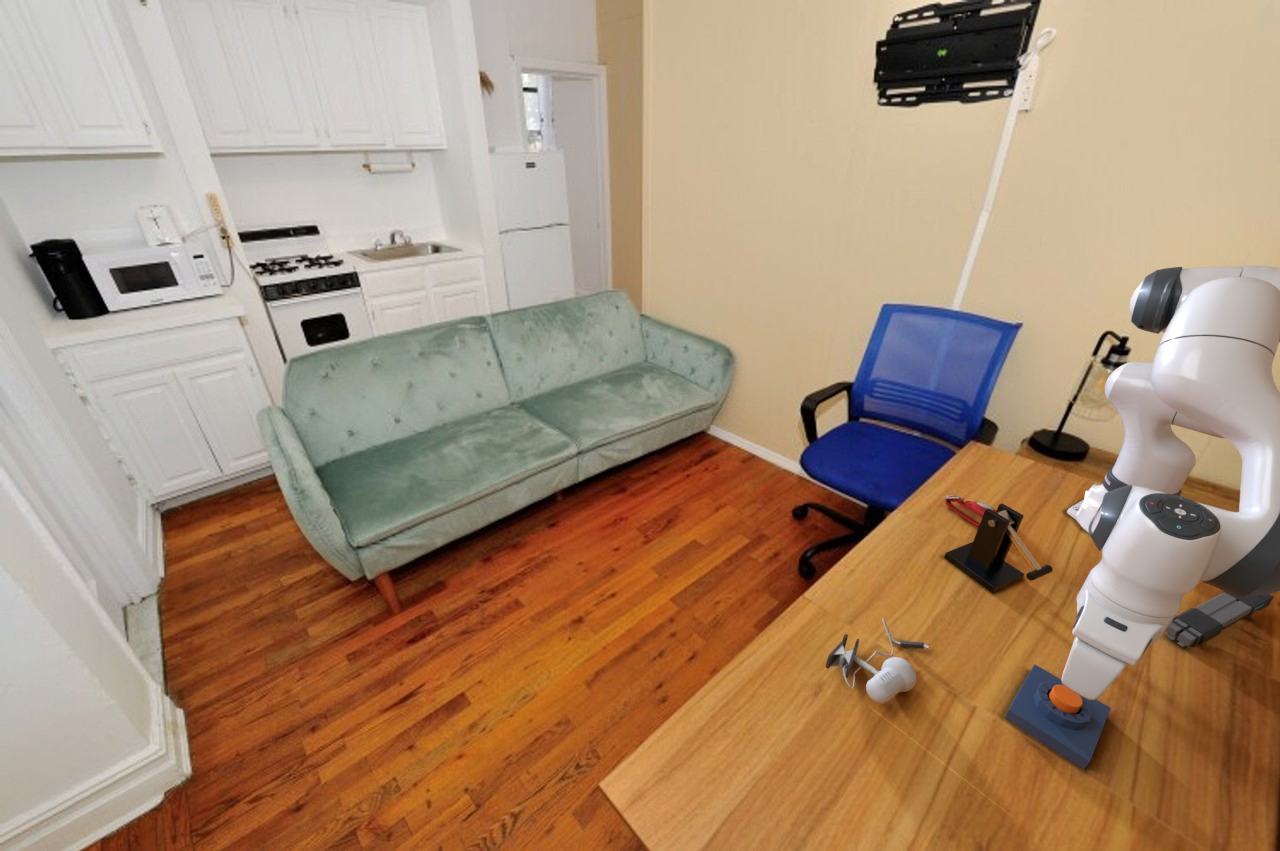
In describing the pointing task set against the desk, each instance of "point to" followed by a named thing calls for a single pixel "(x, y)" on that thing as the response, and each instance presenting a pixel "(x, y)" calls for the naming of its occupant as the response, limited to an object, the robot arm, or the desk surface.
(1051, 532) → the desk surface
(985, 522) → the switch bracket
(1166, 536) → the robot arm
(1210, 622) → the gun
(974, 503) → the tracker holder
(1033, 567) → the switch lever
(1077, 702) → the button
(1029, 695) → the control block
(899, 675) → the clip-on lamp
